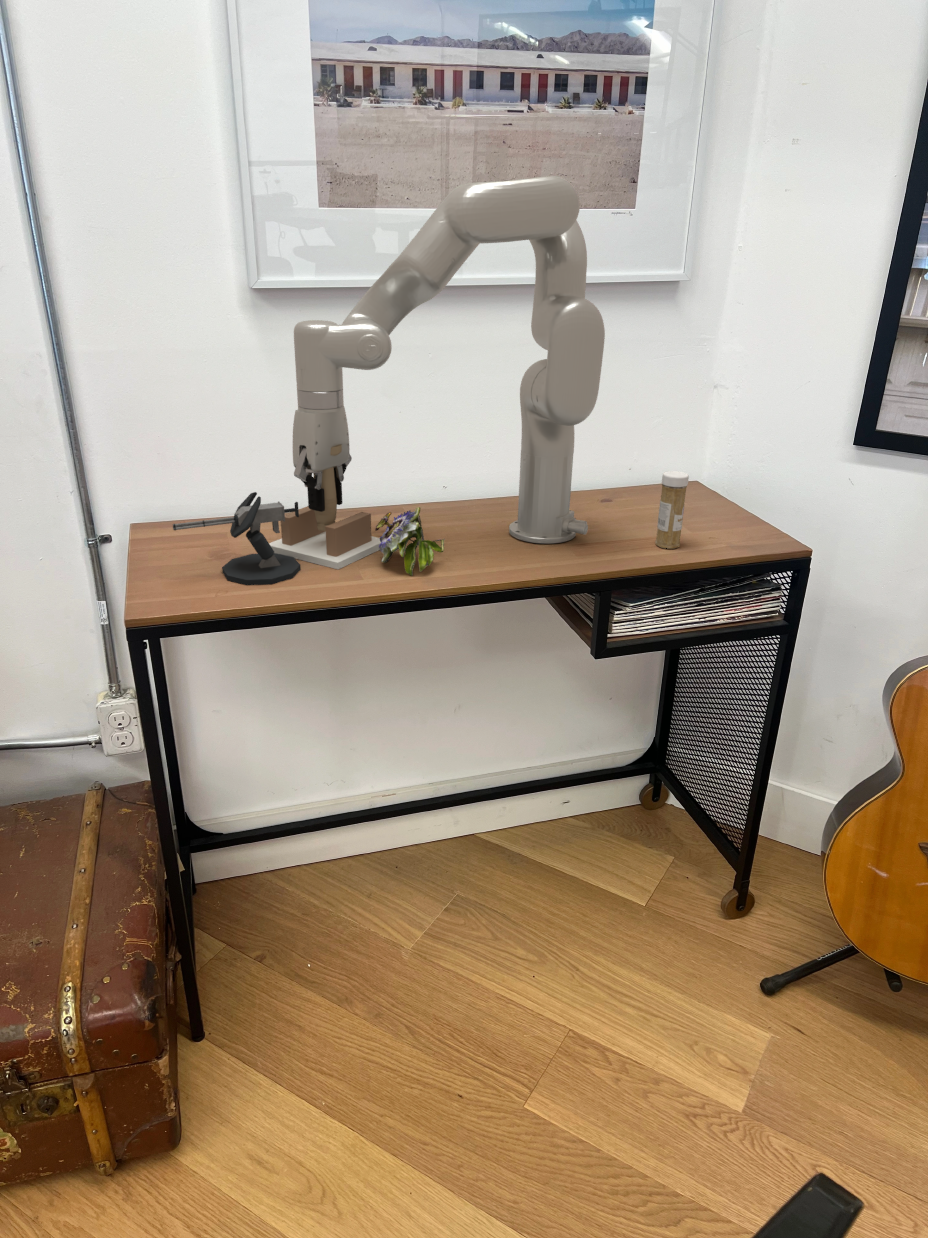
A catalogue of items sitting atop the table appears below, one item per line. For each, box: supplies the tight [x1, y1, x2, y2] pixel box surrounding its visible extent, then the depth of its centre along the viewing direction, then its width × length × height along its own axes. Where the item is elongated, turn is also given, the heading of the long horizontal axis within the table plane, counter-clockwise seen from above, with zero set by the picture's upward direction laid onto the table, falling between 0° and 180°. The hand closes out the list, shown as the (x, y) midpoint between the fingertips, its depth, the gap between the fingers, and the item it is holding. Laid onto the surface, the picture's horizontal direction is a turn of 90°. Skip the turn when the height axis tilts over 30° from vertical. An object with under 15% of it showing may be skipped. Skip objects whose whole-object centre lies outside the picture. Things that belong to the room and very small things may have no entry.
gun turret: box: [172, 491, 302, 586], centre depth 140 cm, size 13×20×13 cm, turn 116°
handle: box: [313, 444, 342, 531], centre depth 150 cm, size 5×6×15 cm
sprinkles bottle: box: [654, 470, 690, 550], centre depth 157 cm, size 5×5×14 cm
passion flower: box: [374, 506, 446, 577], centre depth 147 cm, size 11×11×12 cm
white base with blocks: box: [268, 505, 381, 570], centre depth 153 cm, size 16×14×6 cm
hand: (325, 505), depth 151 cm, fingers closed on handle, 4 cm apart
